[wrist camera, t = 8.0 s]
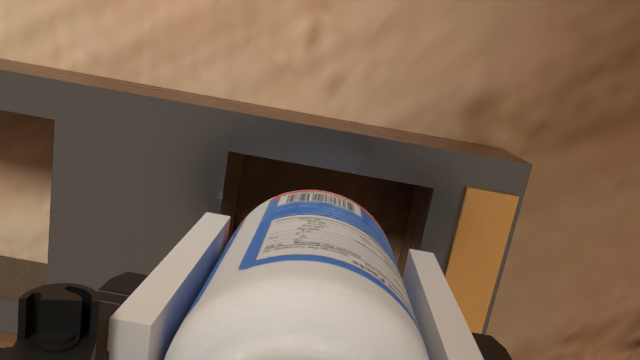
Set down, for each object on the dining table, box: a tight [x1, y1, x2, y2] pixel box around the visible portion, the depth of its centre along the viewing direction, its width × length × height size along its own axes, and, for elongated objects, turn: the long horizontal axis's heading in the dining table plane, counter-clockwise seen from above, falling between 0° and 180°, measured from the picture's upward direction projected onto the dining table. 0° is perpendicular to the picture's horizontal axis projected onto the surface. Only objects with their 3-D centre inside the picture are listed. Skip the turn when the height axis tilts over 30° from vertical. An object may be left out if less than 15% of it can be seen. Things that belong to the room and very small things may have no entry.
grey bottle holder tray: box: [0, 59, 532, 335], centre depth 18 cm, size 9×24×3 cm, turn 80°
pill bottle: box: [164, 190, 429, 360], centre depth 12 cm, size 6×5×10 cm
